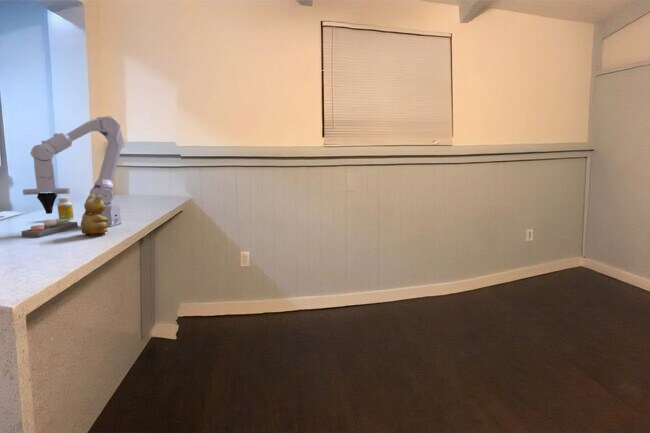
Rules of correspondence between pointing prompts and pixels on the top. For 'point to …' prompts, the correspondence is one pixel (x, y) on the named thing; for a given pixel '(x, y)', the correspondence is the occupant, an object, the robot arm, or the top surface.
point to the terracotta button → (37, 228)
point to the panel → (49, 230)
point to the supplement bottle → (65, 208)
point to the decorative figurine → (94, 217)
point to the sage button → (63, 221)
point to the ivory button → (50, 223)
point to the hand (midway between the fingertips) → (49, 213)
